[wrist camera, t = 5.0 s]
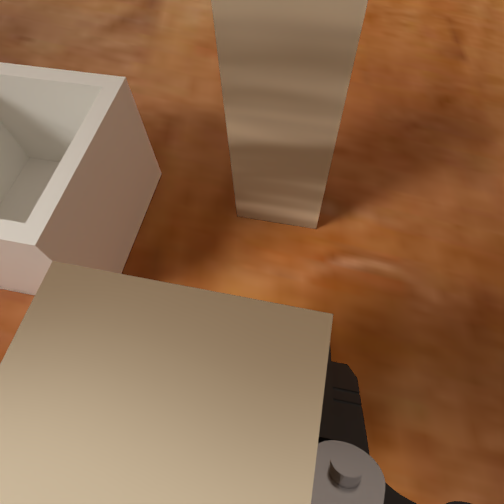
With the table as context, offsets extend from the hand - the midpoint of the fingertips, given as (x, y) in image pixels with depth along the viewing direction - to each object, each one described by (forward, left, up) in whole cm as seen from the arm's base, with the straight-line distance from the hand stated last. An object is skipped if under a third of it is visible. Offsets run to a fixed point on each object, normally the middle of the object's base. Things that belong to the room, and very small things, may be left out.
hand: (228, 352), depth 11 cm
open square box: (-12, -3, -5) cm, 13 cm away
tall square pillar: (+1, -1, -5) cm, 5 cm away
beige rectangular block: (-7, +7, -5) cm, 11 cm away
